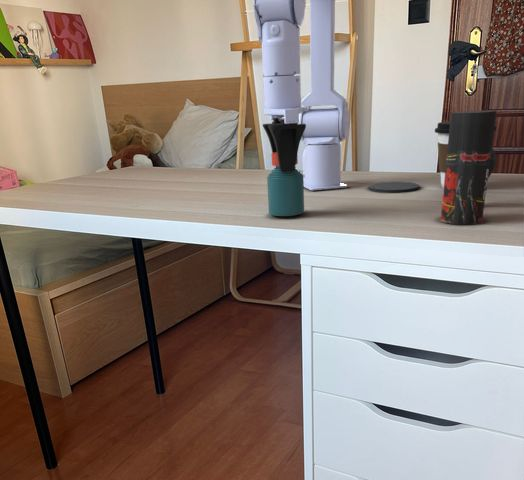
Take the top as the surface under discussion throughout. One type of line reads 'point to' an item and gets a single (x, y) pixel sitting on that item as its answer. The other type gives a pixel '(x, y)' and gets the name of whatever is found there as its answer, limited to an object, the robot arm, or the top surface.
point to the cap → (275, 159)
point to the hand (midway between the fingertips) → (284, 169)
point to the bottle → (285, 192)
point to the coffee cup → (443, 146)
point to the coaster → (393, 187)
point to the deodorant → (467, 166)
